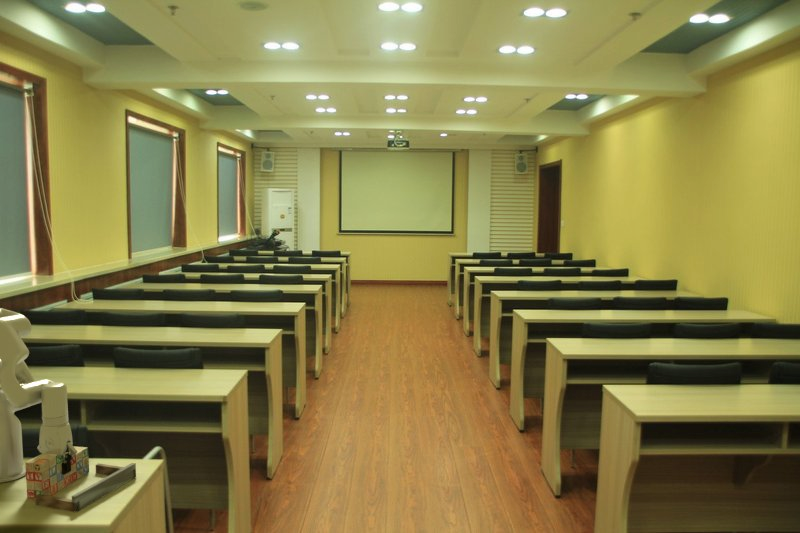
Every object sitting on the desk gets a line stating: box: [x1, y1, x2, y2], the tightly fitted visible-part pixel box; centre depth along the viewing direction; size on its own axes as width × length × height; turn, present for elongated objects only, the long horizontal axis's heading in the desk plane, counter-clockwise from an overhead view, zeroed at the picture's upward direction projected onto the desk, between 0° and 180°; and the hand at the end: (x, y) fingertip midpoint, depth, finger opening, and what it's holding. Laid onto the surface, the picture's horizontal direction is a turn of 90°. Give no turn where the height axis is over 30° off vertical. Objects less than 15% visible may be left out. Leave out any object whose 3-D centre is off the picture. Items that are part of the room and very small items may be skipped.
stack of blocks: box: [24, 446, 90, 500], centre depth 206 cm, size 21×6×12 cm, turn 169°
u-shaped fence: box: [34, 462, 137, 513], centre depth 202 cm, size 16×26×5 cm, turn 163°
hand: (58, 471), depth 206 cm, fingers open, 6 cm apart
